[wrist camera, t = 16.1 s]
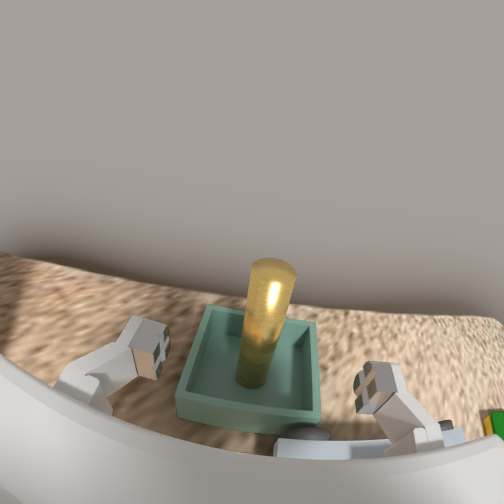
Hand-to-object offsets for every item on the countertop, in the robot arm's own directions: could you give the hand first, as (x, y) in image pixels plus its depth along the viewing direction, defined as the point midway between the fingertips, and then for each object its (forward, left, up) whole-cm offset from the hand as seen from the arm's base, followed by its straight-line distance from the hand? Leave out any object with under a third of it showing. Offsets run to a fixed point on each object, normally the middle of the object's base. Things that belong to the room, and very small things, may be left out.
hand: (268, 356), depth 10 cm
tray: (0, +12, -20) cm, 23 cm away
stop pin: (0, +12, -19) cm, 22 cm away
